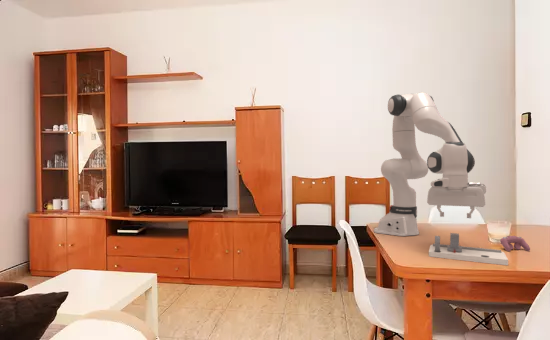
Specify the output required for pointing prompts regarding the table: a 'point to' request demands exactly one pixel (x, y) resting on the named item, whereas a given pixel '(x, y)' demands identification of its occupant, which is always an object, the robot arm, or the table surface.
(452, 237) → the leg
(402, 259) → the table surface
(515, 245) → the video game controller
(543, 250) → the table surface
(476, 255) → the gauge board
